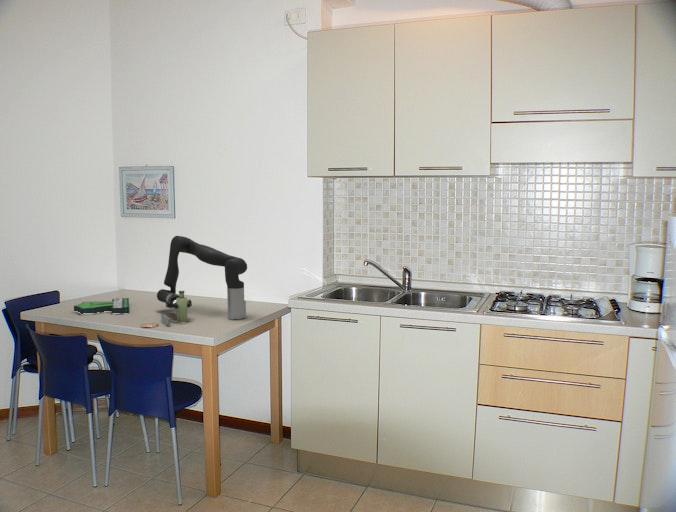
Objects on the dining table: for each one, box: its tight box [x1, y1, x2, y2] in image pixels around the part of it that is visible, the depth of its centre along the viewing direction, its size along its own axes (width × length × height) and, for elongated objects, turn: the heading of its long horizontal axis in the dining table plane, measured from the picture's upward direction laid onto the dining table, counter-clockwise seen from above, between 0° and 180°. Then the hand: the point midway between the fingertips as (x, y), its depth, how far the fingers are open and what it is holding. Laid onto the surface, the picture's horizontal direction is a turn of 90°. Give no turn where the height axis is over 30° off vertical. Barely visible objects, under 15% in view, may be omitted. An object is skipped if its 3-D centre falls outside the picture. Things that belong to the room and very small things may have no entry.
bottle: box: [176, 290, 189, 323], centre depth 304 cm, size 6×6×17 cm
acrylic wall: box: [160, 313, 171, 327], centre depth 300 cm, size 1×14×4 cm, turn 32°
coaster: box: [139, 322, 159, 328], centre depth 296 cm, size 9×9×1 cm
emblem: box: [73, 297, 130, 314], centre depth 333 cm, size 30×4×30 cm
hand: (183, 306), depth 302 cm, fingers open, 5 cm apart
